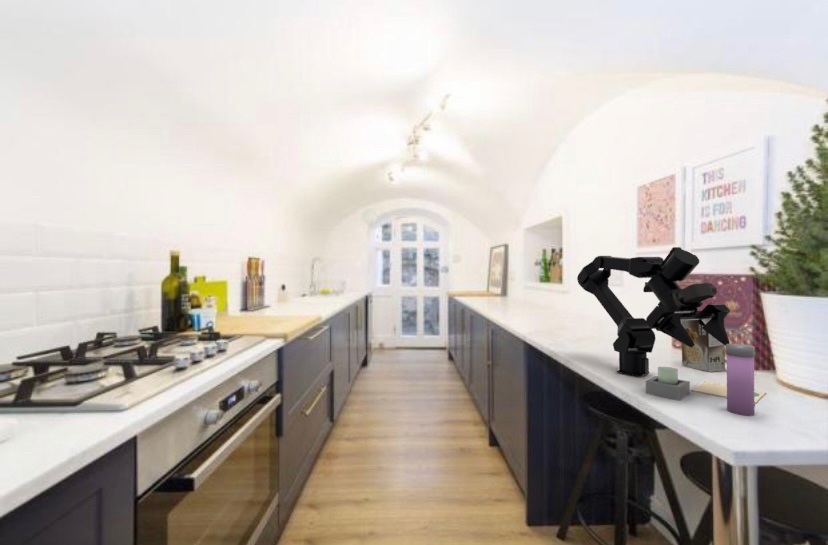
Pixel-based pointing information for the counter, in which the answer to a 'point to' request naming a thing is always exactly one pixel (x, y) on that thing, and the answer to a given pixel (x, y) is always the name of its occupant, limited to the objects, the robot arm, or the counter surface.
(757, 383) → the counter surface
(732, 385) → the purple canister
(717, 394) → the beige coaster
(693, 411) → the counter surface
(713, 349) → the coffee box
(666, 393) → the button housing
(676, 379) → the button
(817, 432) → the counter surface
